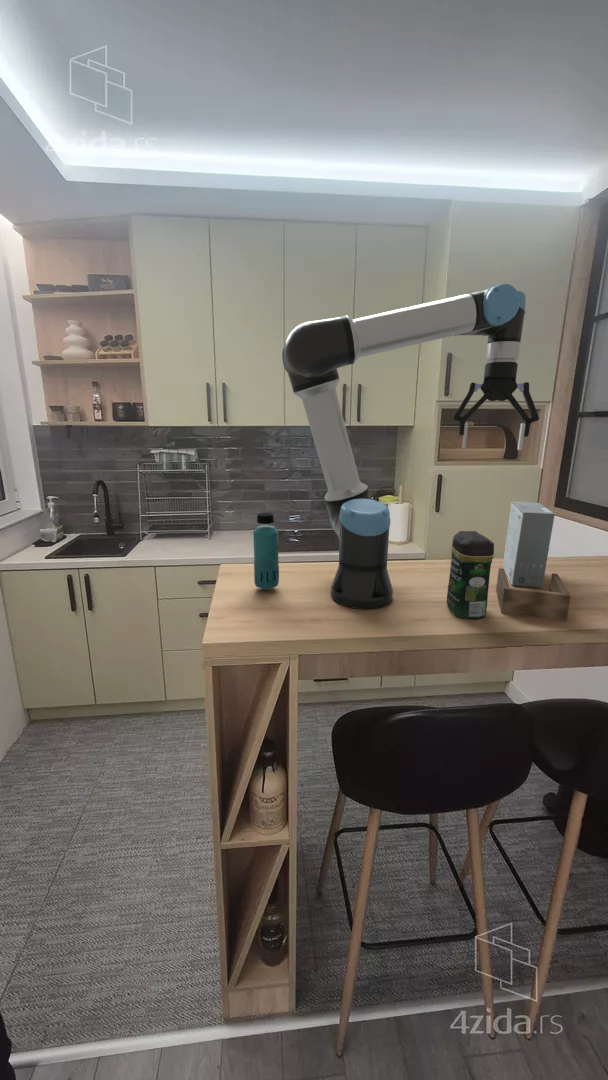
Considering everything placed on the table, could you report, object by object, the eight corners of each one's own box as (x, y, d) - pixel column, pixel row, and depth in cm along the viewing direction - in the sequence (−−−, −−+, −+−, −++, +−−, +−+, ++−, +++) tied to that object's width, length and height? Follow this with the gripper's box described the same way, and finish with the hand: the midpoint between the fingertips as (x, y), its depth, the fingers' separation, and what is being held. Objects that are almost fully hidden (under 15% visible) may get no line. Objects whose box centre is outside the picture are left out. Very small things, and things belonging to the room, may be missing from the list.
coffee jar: (441, 602, 111) (448, 528, 106) (474, 602, 111) (483, 528, 106) (455, 620, 102) (464, 540, 96) (490, 620, 102) (501, 540, 97)
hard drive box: (543, 589, 119) (555, 514, 114) (511, 586, 121) (522, 512, 115) (529, 569, 134) (539, 501, 128) (501, 566, 136) (510, 500, 130)
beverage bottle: (257, 595, 114) (255, 517, 108) (251, 586, 120) (249, 511, 115) (282, 592, 116) (281, 515, 111) (275, 583, 122) (274, 509, 117)
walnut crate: (501, 612, 106) (504, 588, 104) (495, 589, 119) (498, 568, 117) (566, 620, 102) (570, 595, 100) (553, 596, 115) (557, 573, 113)
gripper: (554, 362, 114) (541, 449, 120) (449, 364, 121) (441, 446, 127) (560, 359, 107) (546, 451, 113) (448, 361, 114) (441, 448, 120)
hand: (491, 449), depth 120 cm, fingers open, 13 cm apart
